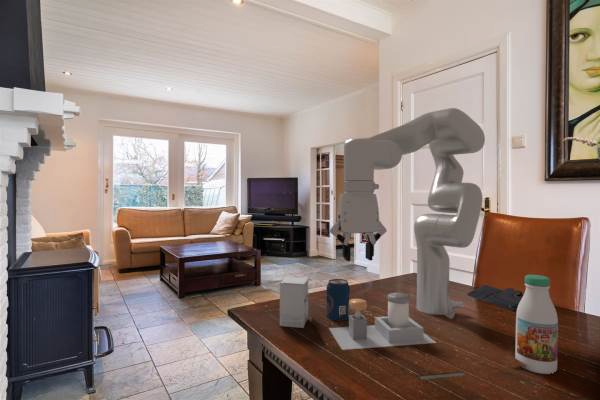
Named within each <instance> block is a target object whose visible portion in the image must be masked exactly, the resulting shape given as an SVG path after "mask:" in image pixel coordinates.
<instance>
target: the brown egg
mask: <svg viewBox="0 0 600 400" xmlns="http://www.w3.org/2000/svg"><path fill="white" fill-rule="evenodd" d="M367 306H368V303H367V300H365V299H362V298H350V300H349V308H350V310H352V311H354V315H355V319H361V312H362V311H365V310H367Z"/></svg>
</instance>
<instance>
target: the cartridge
mask: <svg viewBox="0 0 600 400" xmlns="http://www.w3.org/2000/svg"><path fill="white" fill-rule="evenodd" d="M409 304H410V296H409V294H406V293H402V292H390V293H388V294H387V316H388V326H389V327H391V328H404V327H409V317H410V316H409V314H410V307H409V306H410V305H409Z"/></svg>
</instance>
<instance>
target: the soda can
mask: <svg viewBox="0 0 600 400" xmlns="http://www.w3.org/2000/svg"><path fill="white" fill-rule="evenodd" d="M325 293H326V294H325V295H326V304H325V306H326V309H325V311H326V314H325V315H326V318H327V319H329V320H332V321H336V322H338V321H347V320H349V315H351V309H350V308H349V300H351V287H350V285H349V281H348V280H346V279H343V278H332V279H329V280H328V282H327V285H326V292H325Z"/></svg>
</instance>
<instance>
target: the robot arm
mask: <svg viewBox="0 0 600 400" xmlns="http://www.w3.org/2000/svg"><path fill="white" fill-rule="evenodd" d="M485 141H486V138H485V133H484V131H483V129H482V128H481V126H480V125H479V124H478V123H477V122H476V121H475V120H474V119H472V118H471V117H470V116H469V115H468V114H467V113H466V112H464V111H462V110H461V109H458V108H454V107H450V108H446V109H440V110H435V111H430V112H429V111H428V112H427V113H423V114H422V115H420V116H418V117H415V118H414V119H412V120H410V121H408V122H406V123H403V124H401V125H399V126H396V127H394V128H392V129H389V130H385V131H384V132H381V133H378V134H375V135H373V136H371V137H368V138H360V137H359V138H350V139H348V140H346V141H345V142H344V144H343V193H340V195H339V199H338V204H337V205H338V206H337V217H336V221H335V223H334V224H333V225H332V226H331V228H330V229H329V233H330V234H331V235H333V237H335V238H336V239H337V241H339V242H340V243H341V244H342V246H341V247H342V257H343V260H345V261H346V262H350V261H351V245H350V239H351V236H352V234H365V237H366V241H367V242H366V243H365V259H366V260H368V261H373V257H374V256H375V245H376V243H377V242H378V240H380V239H381V237H382V236H384V235H385V234H386V232H387V228H386V227H385V225H383V223H382V221H381V220H380V210H379V202H378V198H377V193H374V192H375V190H379V189H380V185H379V184H378V183H376V182H375V181H374V179H375V176H374V175H375V171H376V170H378V171H379V170H390V169H393V168H395V167H397V165H399V164H400V162H401V161H402V157H403V156H405V155H408V154H411V153H414V152H417V151H420V149H422V148H423V147H425V146H427V145H428V148H429V150H430V153H431V155H432V158H433V161H434V164H435V173H434V176H433V179H432V183H431V185H430V186H431V187H430V188H429V189H430V190H429V193H428V197H427V205H428V208H429V209H430V210H431V211H433V212H435V213H424V214H421V215H419V216H418V217H417V218H416V219H415V221H414V225H413V229H414V230H413V233H414V237H415V243H416V304H415V305H414V307H416V310H417V311H419V312H421V313H423V314H426V315H427V314H428V315H433V316H434V315H436V316H439V315H440V316H443V315H444V316H445V317H447V318H448V319H450V320H452V319H454V318H455V312H454V311H453V310H455V309H463V308H464V305H465V304H464V302H462V301H455V300H453V299H452V300H450V266H451V265H450V264H451V262H450V257H449V254H448V252H447V249H446V248H445V247H451V248H459V249H461V248H467V247H469V246H470V245H471V244H472V242H473V240H474V239H475V234H476V230H477V227H478V225H479V223H478V222H479V219H480V216H481V212H482V207H483V202H484V201H483V192H482V190H481V188H480V186H479V185H477V184H476V183H472V182H463V177H464V169H463V167H462V165H461V163H460V162H459V161H458V160H457V158H456V157H455V156H456V155H457V156H458V155H465V154H466V155H467V154H468V155H469V154H475V153H477V152H480V151H481V150H482V149H483V148H484V146H485ZM454 155H455V156H454ZM436 212H437V213H436ZM340 232H342V234H341V233H340Z"/></svg>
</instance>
